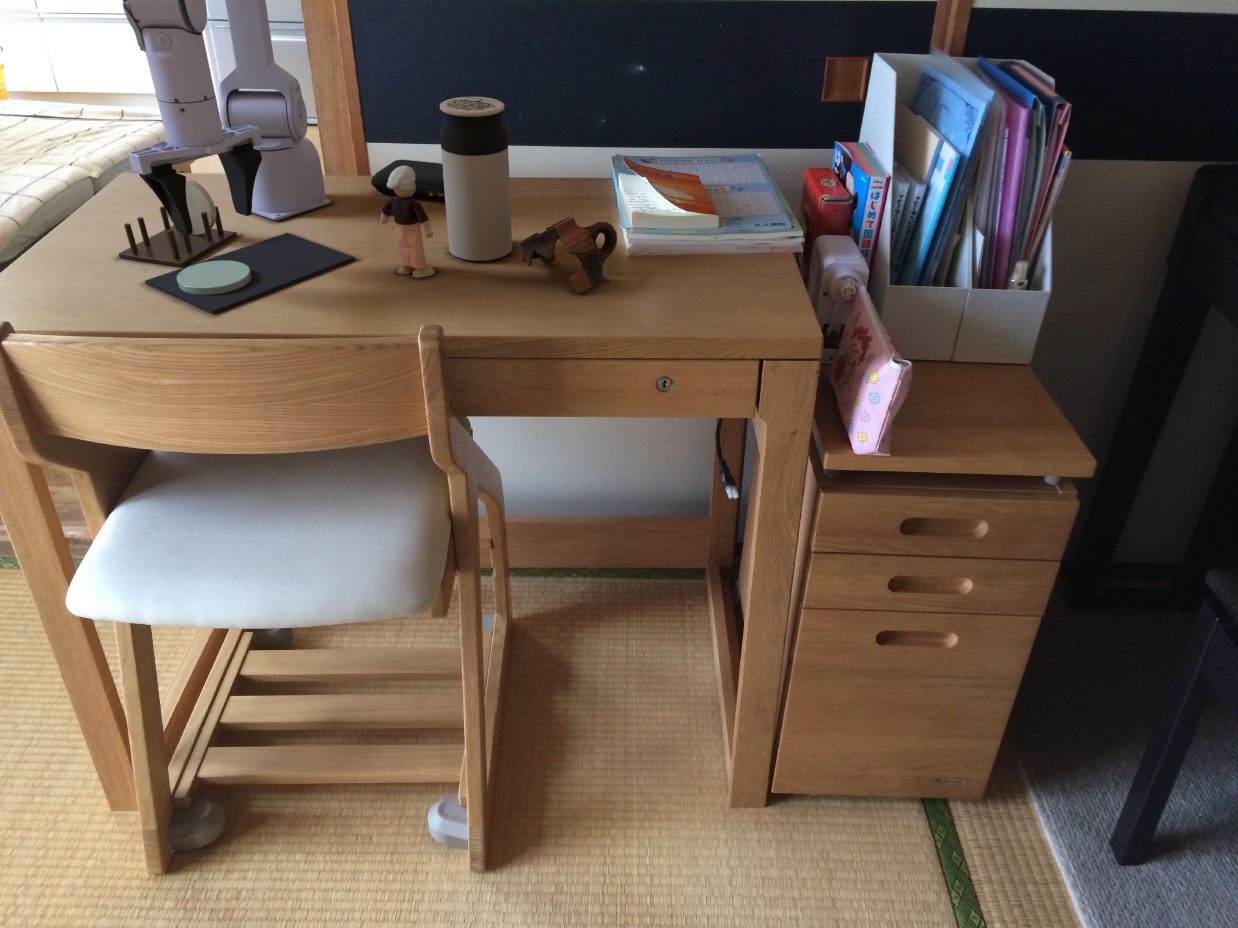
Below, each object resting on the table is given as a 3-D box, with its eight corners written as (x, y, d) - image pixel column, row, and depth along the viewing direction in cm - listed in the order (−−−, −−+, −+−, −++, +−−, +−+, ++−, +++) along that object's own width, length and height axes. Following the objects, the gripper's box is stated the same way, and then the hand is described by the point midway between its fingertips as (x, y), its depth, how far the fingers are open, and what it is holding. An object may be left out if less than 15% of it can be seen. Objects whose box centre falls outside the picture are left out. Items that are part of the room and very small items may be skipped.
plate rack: (177, 228, 122) (169, 197, 120) (237, 236, 120) (230, 205, 118) (119, 258, 114) (109, 226, 111) (182, 267, 112) (174, 235, 109)
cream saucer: (173, 229, 120) (159, 173, 116) (221, 236, 119) (209, 180, 115) (168, 231, 120) (154, 175, 116) (217, 238, 118) (204, 182, 114)
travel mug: (485, 268, 114) (477, 116, 104) (436, 253, 117) (423, 105, 107) (524, 248, 120) (520, 102, 109) (476, 235, 123) (467, 92, 113)
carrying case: (363, 197, 134) (459, 208, 131) (361, 176, 132) (457, 187, 130) (395, 175, 143) (486, 185, 140) (393, 155, 141) (484, 165, 138)
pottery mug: (560, 306, 107) (528, 240, 104) (532, 311, 115) (502, 249, 113) (643, 260, 110) (613, 195, 108) (610, 268, 119) (582, 208, 117)
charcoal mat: (287, 235, 121) (287, 232, 121) (355, 260, 115) (354, 256, 115) (145, 283, 108) (144, 280, 107) (213, 314, 102) (212, 311, 101)
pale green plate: (228, 255, 112) (163, 273, 107) (263, 274, 108) (197, 293, 103) (230, 262, 113) (165, 280, 108) (264, 281, 108) (199, 301, 103)
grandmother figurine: (448, 270, 113) (439, 165, 106) (433, 281, 110) (422, 175, 103) (392, 260, 115) (380, 157, 108) (376, 272, 112) (362, 166, 105)
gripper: (144, 117, 90) (177, 249, 98) (268, 91, 100) (290, 213, 108) (104, 105, 94) (139, 234, 101) (228, 81, 104) (252, 200, 111)
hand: (215, 222), depth 105 cm, fingers open, 7 cm apart
